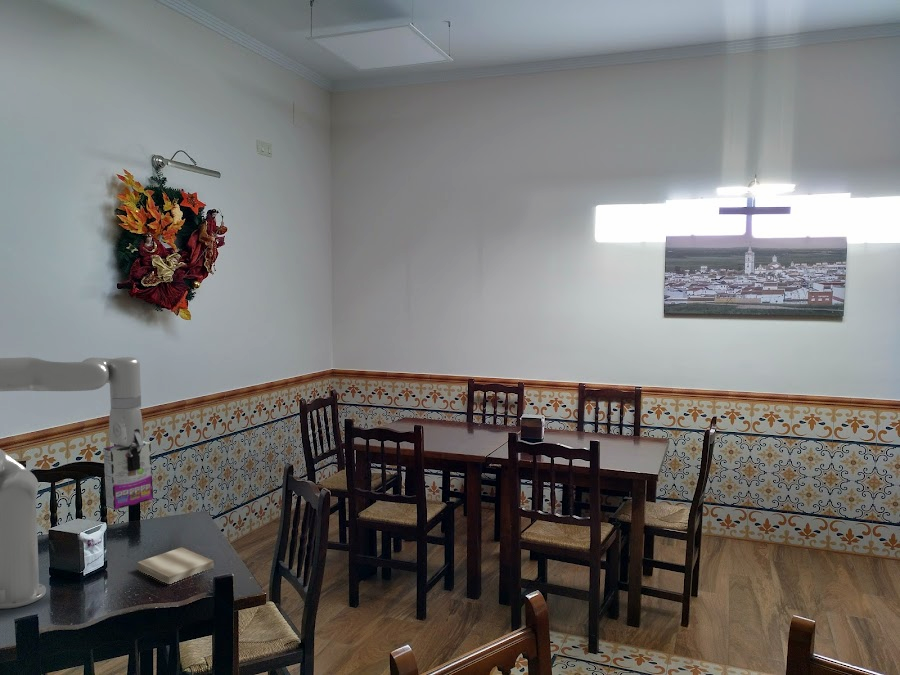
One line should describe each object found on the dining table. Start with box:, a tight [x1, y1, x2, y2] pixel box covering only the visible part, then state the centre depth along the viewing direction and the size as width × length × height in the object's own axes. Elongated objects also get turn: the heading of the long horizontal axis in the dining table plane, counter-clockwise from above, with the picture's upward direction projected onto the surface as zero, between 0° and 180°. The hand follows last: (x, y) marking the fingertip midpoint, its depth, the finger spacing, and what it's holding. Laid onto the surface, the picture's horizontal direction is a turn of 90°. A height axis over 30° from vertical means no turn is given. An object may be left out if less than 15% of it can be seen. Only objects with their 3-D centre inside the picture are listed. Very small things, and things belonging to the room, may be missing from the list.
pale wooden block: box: [137, 546, 215, 584], centre depth 196 cm, size 14×16×3 cm
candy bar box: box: [102, 439, 154, 511], centre depth 187 cm, size 11×5×16 cm, turn 143°
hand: (128, 467), depth 187 cm, fingers closed on candy bar box, 5 cm apart
